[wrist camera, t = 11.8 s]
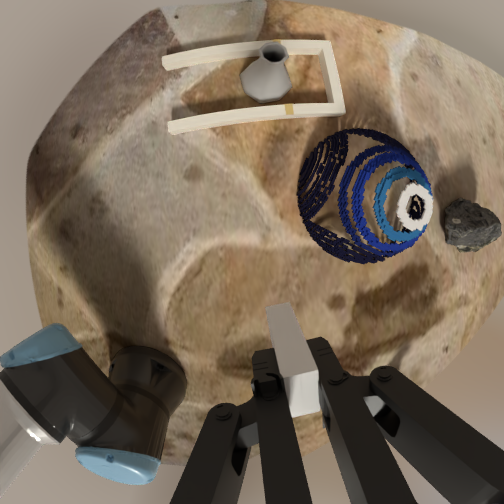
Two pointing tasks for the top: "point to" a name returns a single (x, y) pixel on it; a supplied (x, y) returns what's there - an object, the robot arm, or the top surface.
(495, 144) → the top surface
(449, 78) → the top surface
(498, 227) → the rock
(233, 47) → the u-shaped frame
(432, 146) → the top surface
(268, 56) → the flask
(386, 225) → the decorative bowl
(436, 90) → the top surface
